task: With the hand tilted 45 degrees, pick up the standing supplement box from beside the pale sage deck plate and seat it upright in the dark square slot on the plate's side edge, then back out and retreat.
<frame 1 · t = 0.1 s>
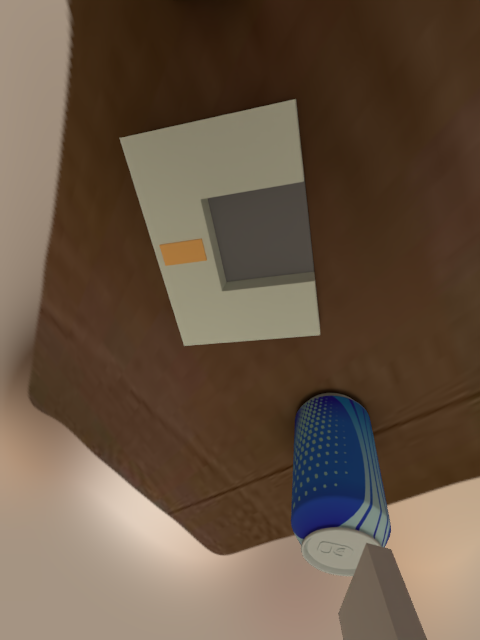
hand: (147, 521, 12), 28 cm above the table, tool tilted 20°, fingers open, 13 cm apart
deck: (233, 236, 35), on the table
beer can: (331, 413, 45), on the table
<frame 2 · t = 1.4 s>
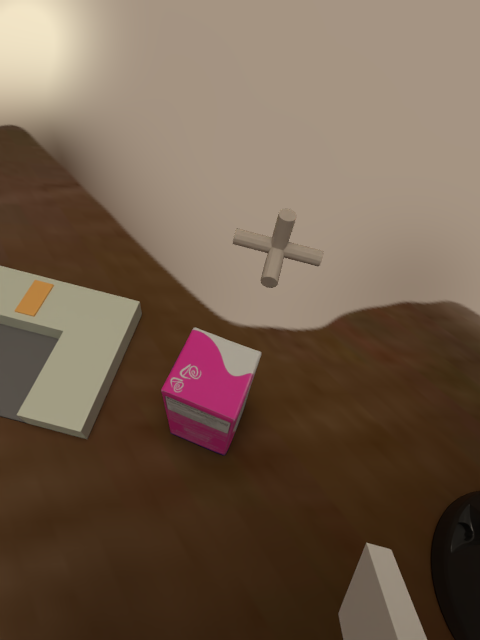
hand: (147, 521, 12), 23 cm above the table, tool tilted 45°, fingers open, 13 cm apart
deck: (22, 345, 38), on the table
supplement box: (208, 418, 37), on the table
pipe connector: (269, 276, 47), on the table
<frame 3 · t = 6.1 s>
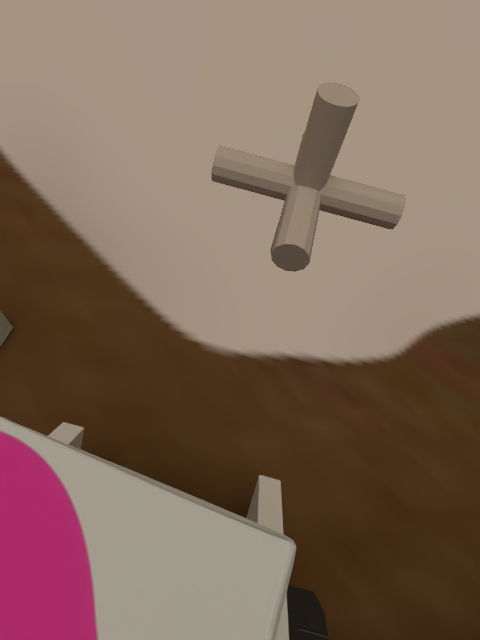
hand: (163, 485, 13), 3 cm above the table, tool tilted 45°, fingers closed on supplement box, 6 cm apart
supplement box: (136, 597, 14), on the table, touching gripper
pipe connector: (283, 254, 25), on the table
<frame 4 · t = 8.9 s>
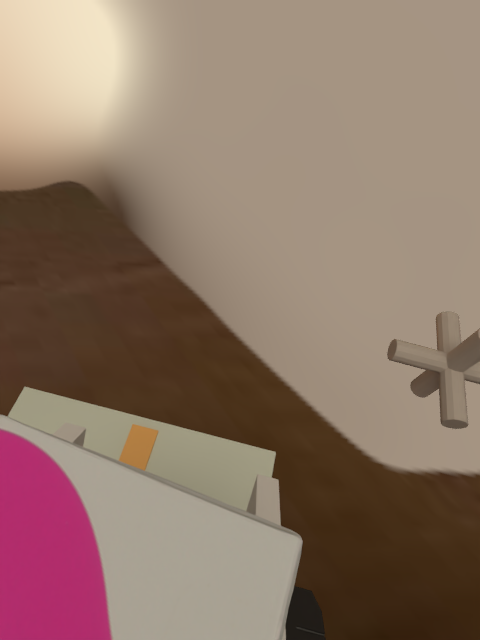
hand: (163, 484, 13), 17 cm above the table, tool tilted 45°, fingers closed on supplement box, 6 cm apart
deck: (118, 521, 27), on the table
supplement box: (135, 594, 15), point 13 cm above the table, touching gripper
pipe connector: (418, 388, 36), on the table
when the fingers open (5 cm above the table, at t = 12.0 s): supplement box drops 1 cm, resting on deck.
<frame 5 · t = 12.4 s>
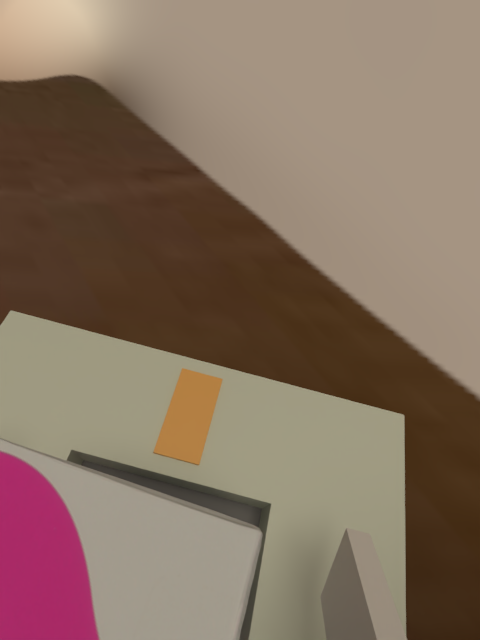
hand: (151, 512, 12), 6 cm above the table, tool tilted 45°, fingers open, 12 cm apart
deck: (161, 522, 17), on the table
supplement box: (135, 594, 15), resting on deck
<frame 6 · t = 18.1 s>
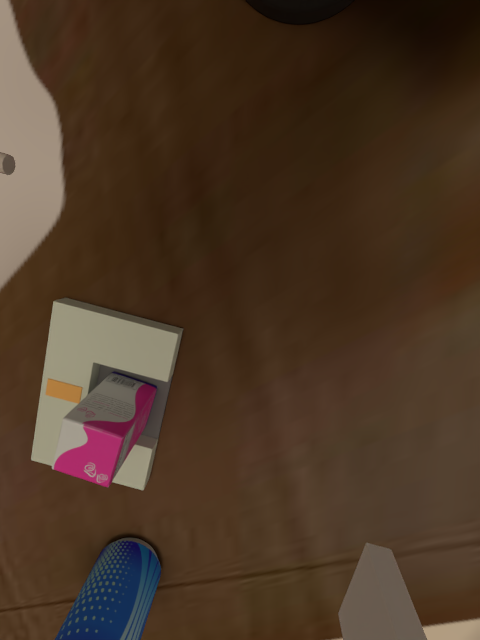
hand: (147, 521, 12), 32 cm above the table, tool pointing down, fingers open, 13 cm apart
deck: (109, 391, 46), on the table
supplement box: (130, 399, 45), resting on deck
beer can: (133, 558, 51), on the table
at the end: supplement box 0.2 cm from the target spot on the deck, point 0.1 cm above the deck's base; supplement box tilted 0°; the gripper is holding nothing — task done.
